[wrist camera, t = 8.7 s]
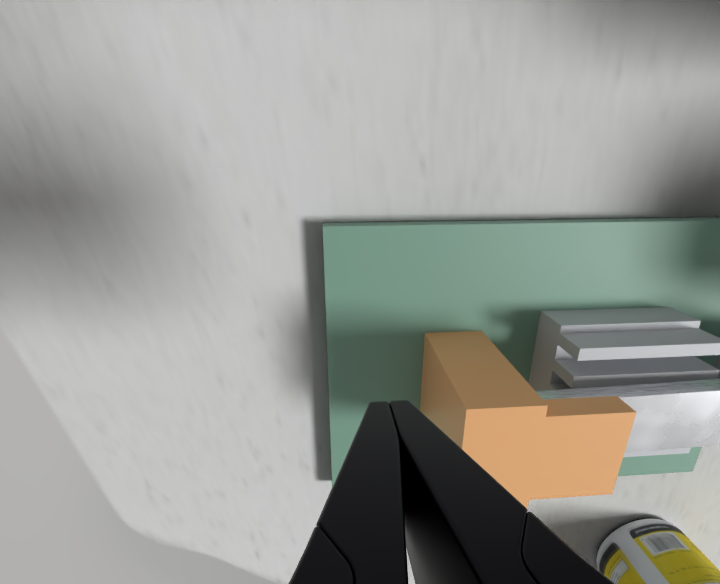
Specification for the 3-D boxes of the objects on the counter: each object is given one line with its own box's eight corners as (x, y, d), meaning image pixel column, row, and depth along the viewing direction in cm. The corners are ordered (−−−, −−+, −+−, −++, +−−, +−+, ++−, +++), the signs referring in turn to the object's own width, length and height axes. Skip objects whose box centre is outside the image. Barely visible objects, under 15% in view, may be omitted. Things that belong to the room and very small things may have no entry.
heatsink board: (766, 216, 19) (969, 242, 13) (678, 459, 25) (793, 558, 19) (322, 223, 18) (319, 256, 12) (332, 481, 23) (332, 597, 17)
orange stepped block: (546, 328, 19) (639, 400, 14) (532, 408, 21) (609, 503, 15) (424, 332, 19) (466, 409, 13) (419, 413, 21) (454, 514, 15)
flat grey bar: (794, 365, 17) (827, 380, 16) (765, 429, 18) (794, 446, 17) (513, 383, 16) (528, 401, 15) (503, 451, 17) (516, 471, 16)
